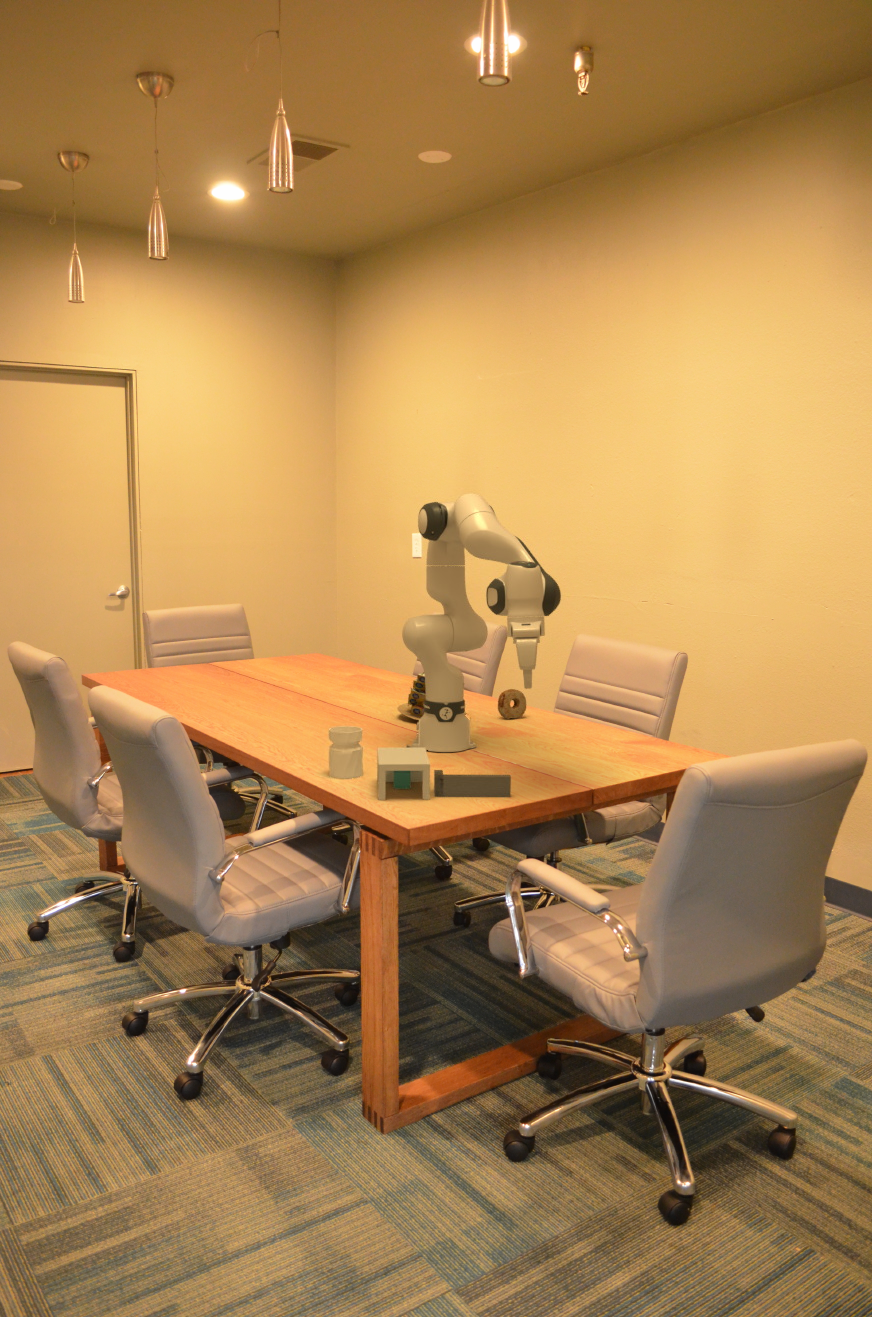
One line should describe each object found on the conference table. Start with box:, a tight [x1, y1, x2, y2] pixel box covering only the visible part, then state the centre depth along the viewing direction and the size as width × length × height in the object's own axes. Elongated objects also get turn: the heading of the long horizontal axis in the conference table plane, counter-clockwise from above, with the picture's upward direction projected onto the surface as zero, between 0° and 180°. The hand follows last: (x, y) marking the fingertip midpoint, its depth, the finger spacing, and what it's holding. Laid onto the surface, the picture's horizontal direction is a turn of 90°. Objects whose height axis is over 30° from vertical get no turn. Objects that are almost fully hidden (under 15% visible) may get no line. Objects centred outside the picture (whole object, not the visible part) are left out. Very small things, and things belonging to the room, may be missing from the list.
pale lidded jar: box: [328, 725, 364, 780], centre depth 254 cm, size 9×9×12 cm
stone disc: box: [497, 688, 527, 719], centre depth 334 cm, size 10×4×10 cm, turn 116°
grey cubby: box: [376, 747, 431, 801], centre depth 240 cm, size 18×12×8 cm, turn 4°
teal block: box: [393, 771, 412, 790], centre depth 243 cm, size 4×4×4 cm
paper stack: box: [396, 671, 468, 721], centre depth 333 cm, size 25×25×17 cm
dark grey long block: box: [433, 769, 512, 798], centre depth 238 cm, size 6×18×5 cm, turn 92°
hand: (527, 687), depth 236 cm, fingers open, 8 cm apart
